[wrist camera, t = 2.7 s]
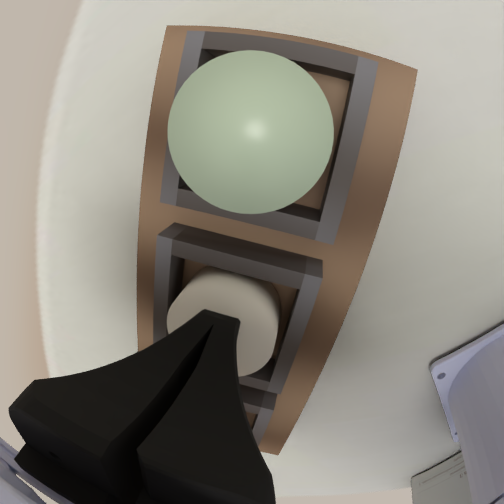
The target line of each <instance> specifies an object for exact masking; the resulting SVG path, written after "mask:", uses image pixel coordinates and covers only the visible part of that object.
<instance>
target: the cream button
mask: <svg viewBox="0 0 504 504" xmlns="http://www.w3.org/2000/svg"><path fill="white" fill-rule="evenodd" d="M203 309H207V310H210V311H214V312H217V313H221V314H224V315H228V316H231V317H235V318H238V319H239V320H240V322H241V323H240V328H239V332H238V337H237V368H238V377H240V376H245V375H249V374H252V373H254V372H256V371H258V370H259V369H261V368H262V367H263V366H265V364H266V363H267V362H268V361H269V359H270V358H271V356H272V353H273V350H274V346H275V342H276V337H277V333H278V328H279V324H280V319H281V313H282V308H281V302H280V298H279V296H278V293H277V291H276V290H275V288H274V287H273V285H272V284H271V283H270V282H269V281H265V280H262V279H258V278H254V277H250V276H246V275H243V274H239V273H235V272H232V271H228V270H224V269H221V268H217V267H213V266H210V265H209V266H207V267H205V268H203V269H201V270H200V271H198V272H197V273H196V274H195V275H194V277H193V278H192V279H191V280H190V282H189V283H188V284H187V285H186V287H185V288H184V289H183V291H182V292H181V293H180V294H179V296H178V297H177V298H176V299H175V301H174V302H173V303H172V305H171V307H170V309H169V311H168V315H167V329H168V333H169V334H170V333H171V332H173V331H174V330H176V329H177V328H179V327H180V326H182V325H183V324H184V323H186V322H187V321H188V320H190V319H191V318H192V317H194V316H195V315H196V314H198V313H199V312H200V311H201V310H203Z"/></svg>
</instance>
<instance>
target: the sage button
mask: <svg viewBox="0 0 504 504" xmlns="http://www.w3.org/2000/svg"><path fill="white" fill-rule="evenodd" d="M333 140H334V126H333V118H332V114H331V110H330V106H329V104H328V101H327V99H326V97H325V95H324V93H323V91H322V90H321V88H320V86H319V85H318V84H317V82H316V81H315V80H314V79H313V78H312V76H310V75H309V74H308V73H307V72H306V71H305V70H304V69H303V68H301V67H300V66H299V65H297V64H296V63H294V62H292V61H291V60H289V59H287V58H285V57H282V56H279V55H277V54H274V53H269V52H265V51H255V50H246V51H237V52H231V53H227V54H224V55H221V56H218V57H216V58H214V59H212V60H210V61H208V62H207V63H205V64H204V65H202V66H201V67H199V68H198V69H197V70H196V71H195V72H194V73H192V74H191V75H190V77H189V78H188V79H187V80H186V81H185V82H184V84H183V85H182V87H181V88H180V90H179V91H178V93H177V95H176V97H175V99H174V101H173V104H172V107H171V110H170V115H169V119H168V144H169V150H170V153H171V157H172V160H173V162H174V164H175V167H176V169H177V171H178V172H179V174H180V176H181V177H182V179H183V180H184V181H185V183H186V184H187V185H188V186H189V187H190V188H191V189H192V190H193V191H194V192H195V193H196V194H197V195H198V196H200V197H201V198H202V199H204V200H205V201H207V202H209V203H210V204H212V205H214V206H216V207H219V208H221V209H224V210H227V211H230V212H235V213H241V214H260V213H267V212H271V211H275V210H278V209H281V208H284V207H286V206H288V205H290V204H292V203H293V202H295V201H296V200H298V199H299V198H301V197H302V196H303V195H305V194H306V193H307V192H308V191H309V190H310V189H311V188H312V187H313V186H314V185H315V183H316V182H317V181H318V180H319V178H320V177H321V175H322V173H323V172H324V170H325V168H326V166H327V163H328V161H329V158H330V155H331V152H332V146H333Z"/></svg>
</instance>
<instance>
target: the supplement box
mask: <svg viewBox="0 0 504 504" xmlns="http://www.w3.org/2000/svg"><path fill="white" fill-rule="evenodd" d="M411 487H412V499H413V504H472V498H471V493H470V487H469V482H468V477H467V472H466V468H465V463H464V459H463V455H462V452H460V453H459V454H457V455H455V456H454V457H452V458H450V459H448V460H447V461H445V462H443V463H441V464H439V465H437V466H435V467H433V468H432V469H430V470H428V471H426V472H424V473H421V474H418V475H416V476H414V477H413V478H411Z"/></svg>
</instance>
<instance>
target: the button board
mask: <svg viewBox="0 0 504 504" xmlns="http://www.w3.org/2000/svg"><path fill="white" fill-rule="evenodd" d="M246 50H255V51H265V52H269V53H274V54H277V55H279V56H282V57H285V58H287V59H289V60H291V61H292V62H294V63H296V64H297V65H299V66H300V67H301V68H303V69H304V70H305V71H306V72H307V73H308V74H309V75H310V76H312V78H313V79H314V80H315V81H316V82H317V84H318V85H319V86H320V88H321V90H322V91H323V93H324V95H325V97H326V99H327V101H328V104H329V106H330V110H331V114H332V118H333V126H334V140H333V146H332V152H331V155H330V158H329V161H328V163H327V166H326V168H325V170H324V172H323V173H322V175H321V177H320V178H319V180H318V181H317V182H316V183H315V185H314V186H313V187H312V188H311V189H310V190H309V191H308V192H307V193H306V194H305V195H303V196H302V197H301V198H299V199H298V200H296V201H295V202H293V203H292V204H290V205H288V206H286V207H284V208H281V209H278V210H275V211H271V212H267V213H260V214H241V213H235V212H230V211H227V210H224V209H221V208H219V207H216V206H214V205H212V204H210V203H209V202H207V201H205V200H204V199H202V198H201V197H200V196H198V195H197V194H196V193H195V192H194V191H193V190H192V189H191V188H190V187H189V186H188V185H187V184H186V183H185V181H184V180H183V179H182V177H181V176H180V174H179V172H178V171H177V169H176V167H175V164H174V162H173V160H172V157H171V153H170V150H169V144H168V119H169V115H170V110H171V107H172V104H173V101H174V99H175V97H176V95H177V93H178V91H179V90H180V88H181V87H182V85H183V84H184V82H185V81H186V80H187V79H188V78H189V77H190V75H191V74H192V73H194V72H195V71H196V70H197V69H198V68H199V67H201V66H202V65H204V64H205V63H207V62H208V61H210V60H212V59H214V58H216V57H218V56H221V55H224V54H227V53H231V52H237V51H246ZM416 76H417V69H414V68H411V67H409V66H406V65H403V64H400V63H398V62H395V61H392V60H389V59H386V58H382V57H379V56H376V55H373V54H369V53H366V52H363V51H359V50H355V49H352V48H348V47H344V46H340V45H336V44H332V43H327V42H323V41H318V40H313V39H308V38H303V37H298V36H292V35H286V34H280V33H273V32H266V31H258V30H250V29H240V28H228V27H213V26H167V28H166V32H165V36H164V41H163V45H162V50H161V55H160V59H159V64H158V70H157V75H156V80H155V86H154V92H153V98H152V104H151V110H150V117H149V124H148V131H147V139H146V147H145V156H144V165H143V175H142V185H141V198H140V211H139V228H138V252H137V335H138V352H139V351H141V350H143V349H145V348H147V347H148V346H150V345H152V344H154V343H155V342H157V341H159V340H160V339H162V338H164V337H165V336H167V335H168V334H169V333H168V329H167V315H168V311H169V309H170V307H171V305H172V303H173V302H174V301H175V299H176V298H177V297H178V296H179V294H180V293H181V292H182V291H183V289H184V288H185V287H186V285H187V284H188V283H189V282H190V280H191V279H192V278H193V277H194V275H195V274H196V273H197V272H198V271H200V270H201V269H203V268H205V267H207V266H209V265H210V266H213V267H217V268H221V269H224V270H228V271H232V272H235V273H239V274H243V275H246V276H250V277H254V278H258V279H262V280H265V281H269V282H270V283H271V284H272V285H273V287H274V288H275V290H276V291H277V293H278V296H279V298H280V302H281V308H282V313H281V319H280V324H279V328H278V333H277V337H276V342H275V346H274V350H273V353H272V356H271V358H270V359H269V361H268V362H267V363H266V364H265V366H263V367H262V368H261V369H259V370H258V371H256V372H254V373H252V374H249V375H245V376H240V377H239V384H240V390H241V394H242V399H243V403H244V407H245V411H246V415H247V418H248V421H249V424H250V427H251V430H252V433H253V435H254V438H255V441H256V443H257V445H258V448H259V450H260V451H261V452H266V453H270V454H275V455H279V453H280V451H281V449H282V448H283V446H284V444H285V442H286V440H287V438H288V437H289V435H290V433H291V431H292V429H293V427H294V425H295V424H296V422H297V420H298V418H299V416H300V414H301V412H302V410H303V408H304V406H305V404H306V402H307V400H308V398H309V396H310V394H311V392H312V390H313V388H314V386H315V384H316V382H317V380H318V378H319V375H320V373H321V371H322V369H323V367H324V365H325V363H326V360H327V358H328V356H329V354H330V351H331V349H332V347H333V345H334V342H335V340H336V338H337V335H338V333H339V331H340V328H341V326H342V324H343V321H344V319H345V316H346V314H347V311H348V309H349V306H350V304H351V301H352V299H353V296H354V294H355V291H356V289H357V286H358V283H359V281H360V278H361V275H362V273H363V270H364V267H365V264H366V262H367V259H368V256H369V253H370V250H371V247H372V244H373V241H374V238H375V235H376V232H377V229H378V226H379V223H380V220H381V217H382V214H383V211H384V207H385V204H386V201H387V197H388V194H389V191H390V187H391V184H392V180H393V177H394V173H395V169H396V166H397V162H398V158H399V154H400V150H401V146H402V142H403V138H404V134H405V130H406V125H407V121H408V116H409V112H410V107H411V102H412V97H413V92H414V87H415V82H416Z"/></svg>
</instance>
